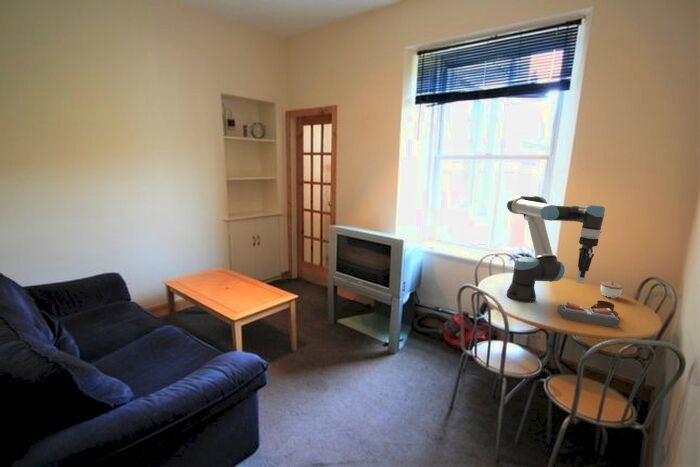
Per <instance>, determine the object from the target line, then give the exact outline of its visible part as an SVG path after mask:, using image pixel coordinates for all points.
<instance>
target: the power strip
mask: <svg viewBox="0 0 700 467" xmlns="http://www.w3.org/2000/svg"><path fill="white" fill-rule="evenodd" d="M581 307H582V308H583V309H584V310H583V311H581V310H577V309H575V308H572V307H569V306H568V305H567V304H566V303H562V304H561V303H560V304H559V303H558V306H557V313H558V315H559V316H560V318H561V319H564V320H565V319H566V320H570V321H571V320H572V321H576V322H582V323H587V324H588V323H589V324H594V325H600V326H604V327H605V326H606V327H612V328H615V329H616V328H619V325H620V318H618V316H615V315H614V314H613V313H601V314H599V313H595V312H594V311H593V309H591V307H590V308H586V307H583V306H581Z"/></svg>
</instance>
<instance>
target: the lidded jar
mask: <svg viewBox="0 0 700 467" xmlns="http://www.w3.org/2000/svg"><path fill="white" fill-rule="evenodd" d="M623 289H624V285H621V284H619V283H616V282H614V281H601V283H600V293H601V294H602V296H603V295H604V296H603V297H605V296H607V297H606V298H608V297H611V298H610V299H616V298H618V297H619V296H620V295H622V292H623Z"/></svg>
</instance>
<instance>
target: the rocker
mask: <svg viewBox="0 0 700 467" xmlns="http://www.w3.org/2000/svg"><path fill="white" fill-rule="evenodd" d="M565 305H568V306H569V307H572V308H575V309H577V310H581V311H583V310H584V309H583V308H584V307H583V306H581V305H577V304H575V303H573V302H570V301H566V303H565ZM582 307H583V308H582Z"/></svg>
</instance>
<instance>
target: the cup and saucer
mask: <svg viewBox="0 0 700 467" xmlns="http://www.w3.org/2000/svg"><path fill="white" fill-rule="evenodd" d="M594 308H610V309H611V310H612V313H613V314H614V315H615V316H616V317H618V316H619V313H618V312H617V311H616V310H614V308H615V304H614V303H612V302H610V301H607V300H606V301H605V300H597V302H596V303H594V304H593V305H592V306H590V309H594Z"/></svg>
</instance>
